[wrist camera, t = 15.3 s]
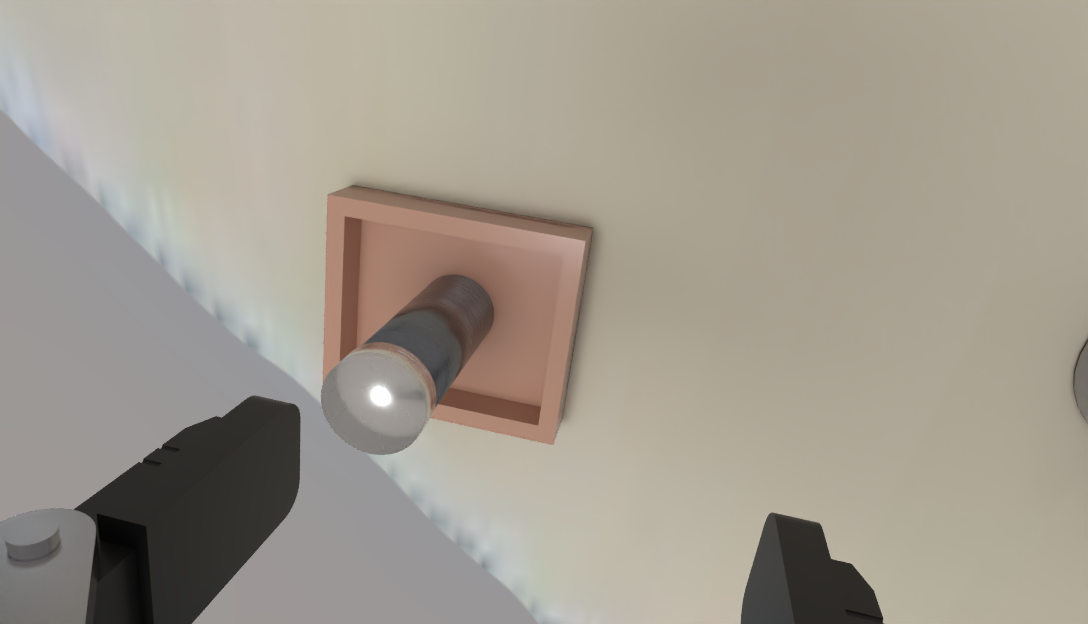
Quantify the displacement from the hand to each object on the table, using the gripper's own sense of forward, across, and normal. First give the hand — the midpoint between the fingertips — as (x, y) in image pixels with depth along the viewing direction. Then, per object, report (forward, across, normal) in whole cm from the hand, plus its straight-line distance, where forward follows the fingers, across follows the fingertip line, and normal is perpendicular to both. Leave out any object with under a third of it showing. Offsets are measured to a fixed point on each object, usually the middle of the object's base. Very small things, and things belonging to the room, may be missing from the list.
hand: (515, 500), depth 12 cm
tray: (+28, +9, +8) cm, 31 cm away
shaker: (+27, +9, +8) cm, 30 cm away
